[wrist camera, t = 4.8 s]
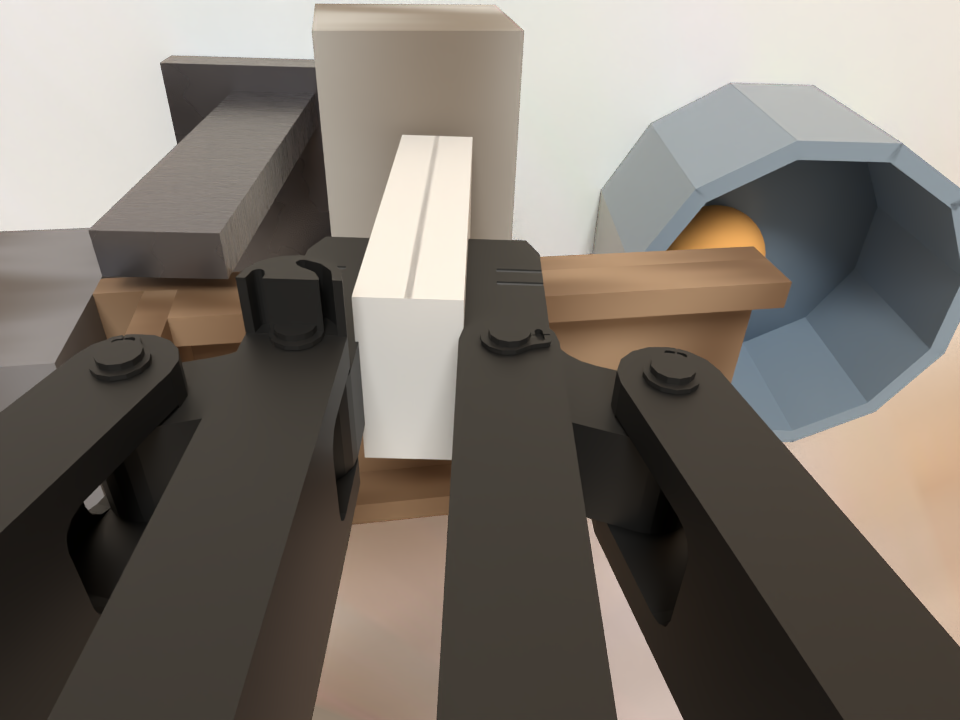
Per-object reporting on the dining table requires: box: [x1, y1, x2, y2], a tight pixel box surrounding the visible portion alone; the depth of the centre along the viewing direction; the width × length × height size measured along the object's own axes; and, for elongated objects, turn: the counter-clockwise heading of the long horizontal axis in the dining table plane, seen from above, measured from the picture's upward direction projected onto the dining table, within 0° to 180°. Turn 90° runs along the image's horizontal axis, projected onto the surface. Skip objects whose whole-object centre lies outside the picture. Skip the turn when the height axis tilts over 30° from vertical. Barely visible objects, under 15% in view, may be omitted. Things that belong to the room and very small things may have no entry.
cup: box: [593, 83, 960, 442], centre depth 28 cm, size 12×12×7 cm
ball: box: [666, 205, 766, 257], centre depth 29 cm, size 4×4×4 cm
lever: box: [0, 4, 792, 525], centre depth 19 cm, size 25×14×7 cm, turn 88°
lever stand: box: [88, 56, 332, 279], centre depth 25 cm, size 8×13×14 cm, turn 178°
